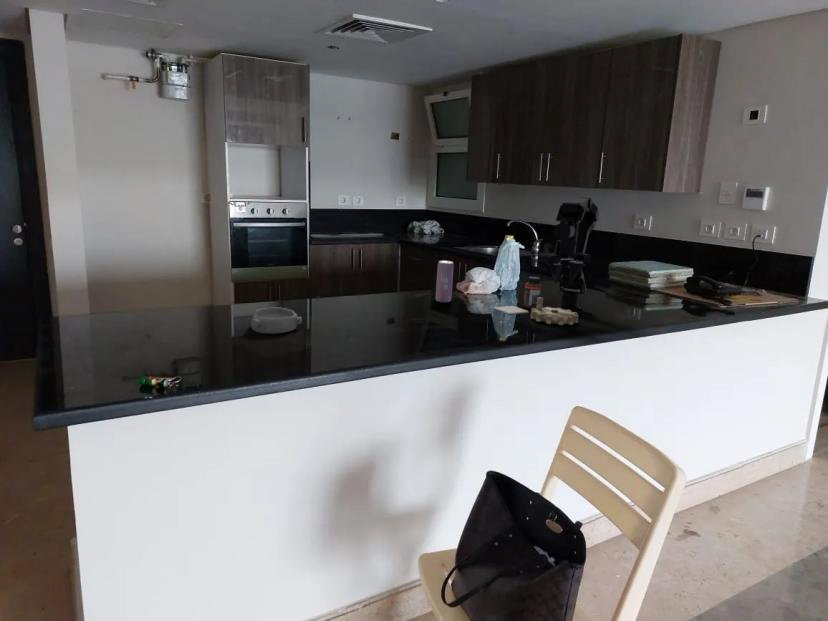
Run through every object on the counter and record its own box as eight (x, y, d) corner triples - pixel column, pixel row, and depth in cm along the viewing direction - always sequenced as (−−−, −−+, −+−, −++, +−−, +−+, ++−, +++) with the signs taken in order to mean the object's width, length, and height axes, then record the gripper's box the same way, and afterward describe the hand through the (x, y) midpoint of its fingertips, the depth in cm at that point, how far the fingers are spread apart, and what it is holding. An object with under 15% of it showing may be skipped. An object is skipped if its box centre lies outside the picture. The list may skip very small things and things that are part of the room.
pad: (512, 307, 214) (513, 305, 214) (528, 312, 206) (528, 311, 206) (493, 308, 210) (493, 307, 210) (508, 314, 202) (508, 313, 202)
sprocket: (539, 311, 208) (541, 293, 206) (583, 318, 200) (585, 300, 198) (523, 319, 195) (525, 300, 193) (569, 327, 187) (571, 308, 185)
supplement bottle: (521, 304, 219) (524, 275, 216) (536, 305, 219) (539, 276, 217) (525, 308, 213) (528, 278, 210) (541, 309, 214) (544, 279, 211)
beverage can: (451, 299, 221) (454, 261, 217) (450, 303, 215) (453, 263, 212) (435, 298, 221) (438, 260, 218) (434, 301, 215) (437, 262, 212)
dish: (255, 337, 159) (255, 319, 158) (244, 324, 171) (244, 308, 170) (305, 333, 166) (305, 316, 165) (292, 321, 178) (292, 305, 177)
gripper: (571, 235, 210) (566, 277, 213) (532, 235, 201) (527, 279, 204) (594, 239, 200) (588, 283, 204) (554, 239, 191) (549, 285, 195)
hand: (563, 282), depth 202 cm, fingers open, 7 cm apart
